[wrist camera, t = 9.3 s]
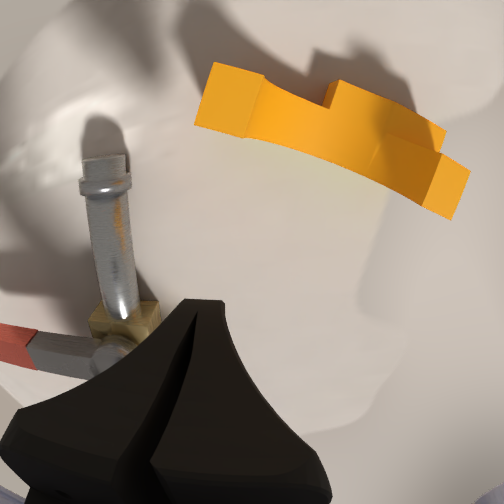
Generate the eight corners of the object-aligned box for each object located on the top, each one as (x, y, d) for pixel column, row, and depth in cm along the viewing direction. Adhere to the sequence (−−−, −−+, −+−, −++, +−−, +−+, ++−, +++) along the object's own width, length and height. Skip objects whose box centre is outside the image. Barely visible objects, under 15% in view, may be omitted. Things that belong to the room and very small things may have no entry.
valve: (172, 383, 25) (165, 411, 22) (125, 377, 25) (115, 403, 22) (147, 152, 18) (127, 159, 15) (84, 156, 17) (58, 164, 15)
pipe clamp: (419, 126, 17) (481, 138, 11) (397, 187, 18) (451, 220, 13) (236, 53, 15) (228, 21, 9) (213, 122, 17) (193, 125, 11)
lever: (137, 336, 19) (128, 356, 17) (147, 371, 20) (140, 392, 18) (-5, 318, 19) (-18, 332, 17) (9, 348, 20) (-2, 363, 18)
